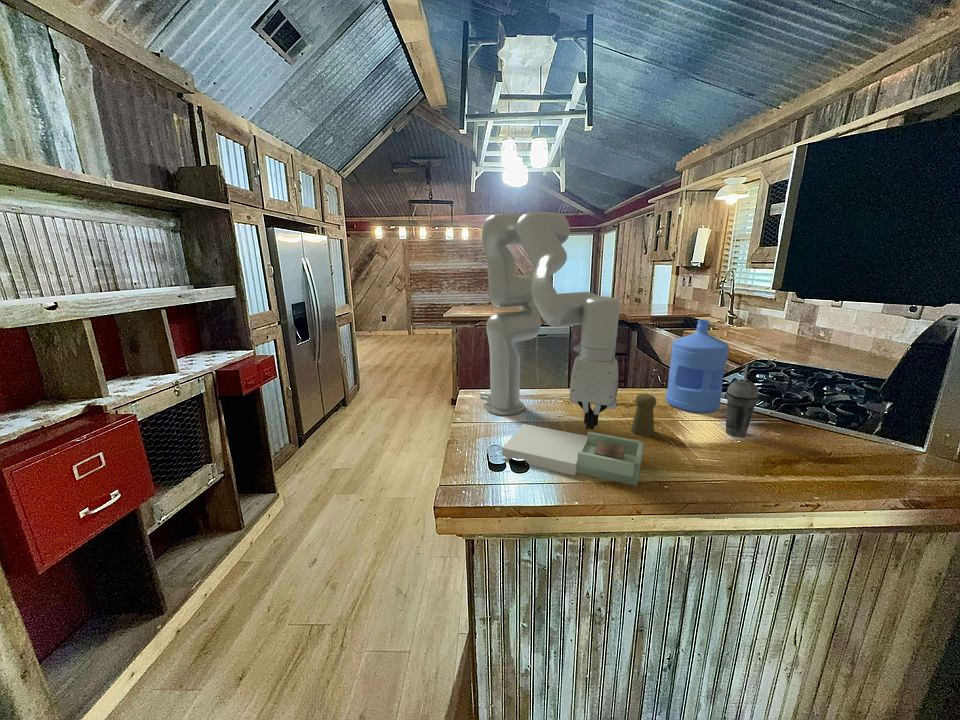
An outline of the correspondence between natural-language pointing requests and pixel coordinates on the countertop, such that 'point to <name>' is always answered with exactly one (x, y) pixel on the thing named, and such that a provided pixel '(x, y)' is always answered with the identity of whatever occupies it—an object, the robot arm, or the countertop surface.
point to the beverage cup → (740, 406)
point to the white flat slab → (546, 448)
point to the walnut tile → (610, 450)
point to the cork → (644, 415)
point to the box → (611, 459)
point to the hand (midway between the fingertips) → (590, 427)
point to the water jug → (697, 371)
